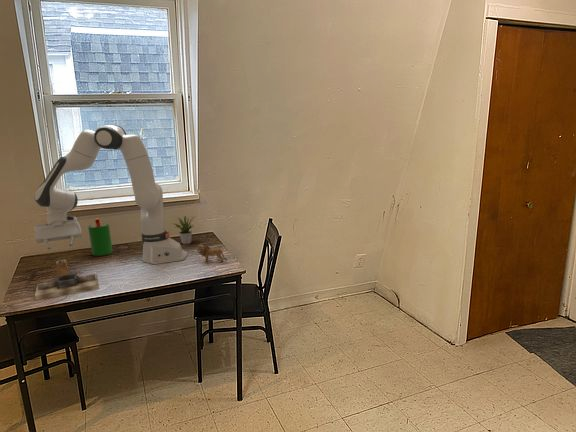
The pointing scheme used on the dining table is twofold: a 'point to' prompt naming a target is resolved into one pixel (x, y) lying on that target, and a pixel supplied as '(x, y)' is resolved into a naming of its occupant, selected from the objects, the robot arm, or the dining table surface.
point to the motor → (100, 239)
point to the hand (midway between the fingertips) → (60, 246)
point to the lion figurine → (209, 252)
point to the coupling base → (66, 285)
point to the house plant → (185, 230)
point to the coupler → (62, 267)
